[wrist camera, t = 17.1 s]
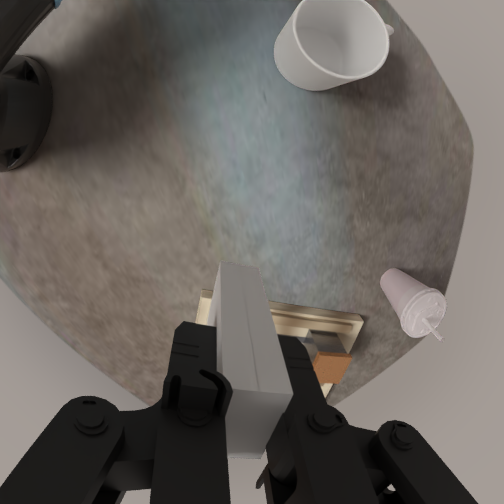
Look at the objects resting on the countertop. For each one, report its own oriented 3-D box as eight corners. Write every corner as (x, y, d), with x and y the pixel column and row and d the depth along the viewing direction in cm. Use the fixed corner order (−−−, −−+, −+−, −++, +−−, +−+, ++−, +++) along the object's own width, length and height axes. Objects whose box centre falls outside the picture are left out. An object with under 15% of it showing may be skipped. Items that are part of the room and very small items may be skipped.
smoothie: (362, 282, 41) (413, 343, 29) (396, 249, 40) (457, 299, 27) (386, 307, 44) (434, 368, 31) (417, 277, 42) (473, 329, 29)
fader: (297, 353, 42) (307, 382, 37) (308, 327, 41) (319, 355, 35) (326, 356, 43) (338, 383, 37) (337, 331, 41) (352, 357, 36)
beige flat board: (183, 388, 46) (182, 401, 43) (201, 289, 40) (200, 300, 37) (315, 401, 49) (319, 413, 47) (358, 314, 43) (366, 325, 41)
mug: (379, 76, 32) (430, 64, 22) (288, 101, 32) (316, 90, 22) (354, 13, 28) (396, -17, 19) (260, 33, 29) (276, -2, 19)
